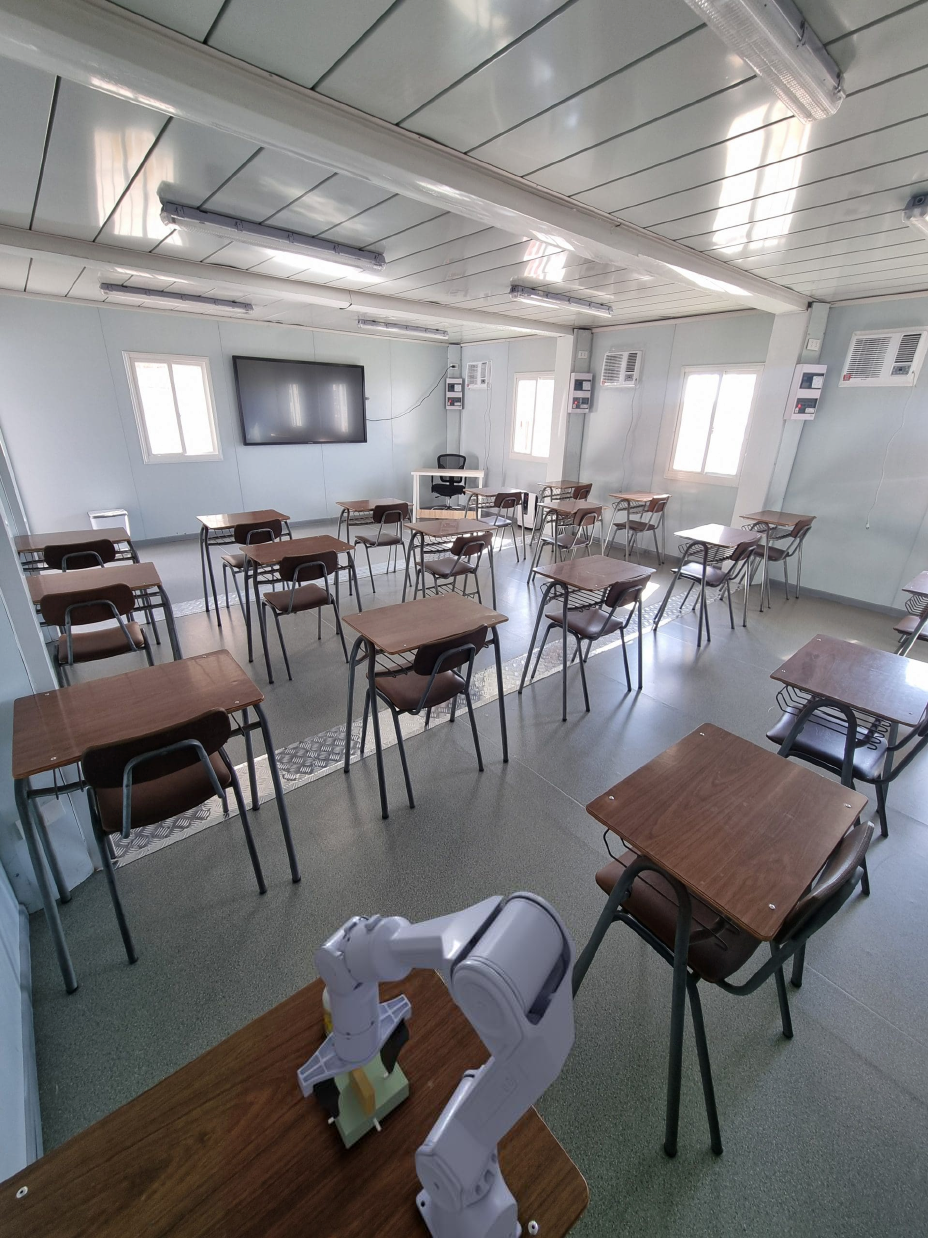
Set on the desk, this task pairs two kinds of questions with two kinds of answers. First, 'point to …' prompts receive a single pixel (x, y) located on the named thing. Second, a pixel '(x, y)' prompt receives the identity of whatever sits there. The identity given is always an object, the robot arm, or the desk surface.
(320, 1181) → the desk surface
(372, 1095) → the block
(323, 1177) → the desk surface
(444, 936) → the robot arm
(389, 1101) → the lock plate
